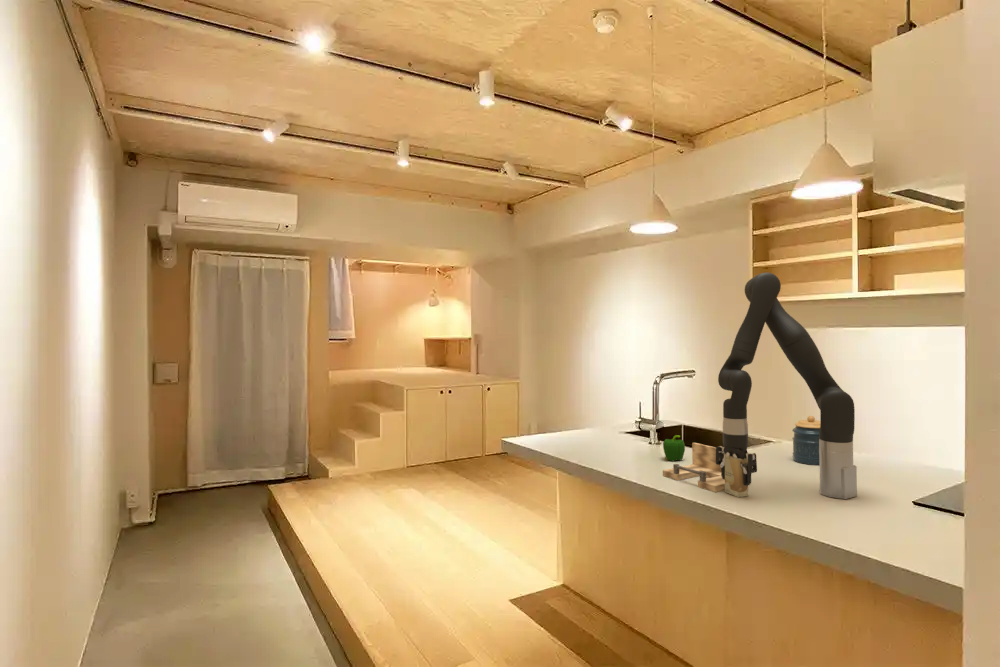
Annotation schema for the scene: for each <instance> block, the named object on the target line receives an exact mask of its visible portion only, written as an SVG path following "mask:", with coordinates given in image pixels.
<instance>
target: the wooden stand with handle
mask: <svg viewBox="0 0 1000 667" xmlns="http://www.w3.org/2000/svg"><path fill="white" fill-rule="evenodd" d="M691 447H692V448H691V450H692V451H691V454H692V464H687V465H683V466H682V465H680V464H679V463H674V464H673V466H672V467H671V468H667V469H662V476H663V477H667V478H670V479H672V480H676V481H681V480H683V481H684V480H687V479H692V478H696V477H699V480H697V487H699V488H701V489H705V490H707V491H711V492H714V493H717V492H722V491H725V480H724V479H722V476H721V467H720V465H717V464H716V447H717V446H711V445H706V444H702V443H698V442H692V444H691ZM724 457H725V453H724Z"/></svg>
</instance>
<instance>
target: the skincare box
mask: <svg viewBox="0 0 1000 667" xmlns="http://www.w3.org/2000/svg"><path fill="white" fill-rule="evenodd" d="M740 462H742V463H743V464H745V463H747V462H748V460H747V458H746V459H745V458H744V459H740V458H739V459H737V458H734V457H733V456H729V457H728V456H726V455H725V490H724V493H727V494H729V495H731V496H735V497H737V498H742V497H746V496H749V485H748V486H745V485H744V472H743V470H742V468H741V467H740ZM745 467H746V466H745Z"/></svg>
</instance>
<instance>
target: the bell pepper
mask: <svg viewBox="0 0 1000 667" xmlns="http://www.w3.org/2000/svg"><path fill="white" fill-rule="evenodd" d="M676 438H678V439H676ZM679 438H681V435H679V434H678V435H677V434H675V435H674V436H673V438H671V439H669V438H665V440H664V441H663V443H662V448H663V452H664V456H665V459H666V460H667V461H671V462H672V461H673V462H674V461H681V460H682V459H683V458H684V455H685V451H686V448H685V447H686V444H685V441H684V440H683V439H679Z"/></svg>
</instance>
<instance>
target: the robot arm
mask: <svg viewBox="0 0 1000 667" xmlns="http://www.w3.org/2000/svg"><path fill="white" fill-rule="evenodd" d="M781 288H782V285H781V280H780V279H779V277H778V276H777V275H776V274H774V273H771V272H761V273H758V274H757V275H755V276H753V277H752V278H750V279H749V280H748V281H747V282H746V283H745V285H744V294H745V295H744V296H746V299H747V300H748V301H749V306H748V309H747V312H746V314H745V316H744V318H743V321H742V323H741V325H740V327H739V329H738V331H737V333H736V335H735V338H734V341H733V345H732V348H731V351H730V354H729V355H728V357H727V358H726V360H725V362H724V363H723V365H722V367H721V369H720V370H719V372H718V377H717V378H718V379H717V383H718V385H719V387H720V388H721V389H723V390H725V391H728V392H729V391H730V392H731V395H730V398H727V399H725V400H724V401H723V403H722V404H723V406H722V410H723V412H722V414H723V415H722V416H723V418H722V445H719V446H715V447H716V464H717V465H720V467H721V476H722V479H724V480H725V457H724V453H725V455H726V456H728V457H729V456H733V457H734V458H737V459H739V458H740V459H744V458H745V459H746V458H747V460H748V462H747V463H745V464H743V463H742V462H740V467H741V468H742V470H743V472H744V485H745V486H748V487H749V486H750V485H751V484H752V474H755V473H757V472H758V464H757V462H758V461H757V454H756V453H755V452H752V453H751V452H748V447H749V424H748V423H749V422H748V409H747V408H748V407H747V405H748V402H749V398H750V395H751V391H752V384H753V381H752V378H751V375H750V374H749V372H747V371H746V370H743V368H744V367H745V366H748V365H751V364H752V363H753V362H754V359H755V356H756V352H757V348H758V345H759V342H760V338H761V336H762V334H763V330H764V326H765V324H766V326H767V327H768V330H770V332H771V334H772V335H773V337H774V340H776V342H777V343H778V346H779V347H780V348H781V350H782V352H783V354H784V355H785V357H786V358H787V360H788V362H789V363H791V364H790V365H792V366H793V368H794V369H795V370H796V371H797V373H798V374H799V375H800V376H801V378H802V379H803V380H804V381H805V383H806V385H807V387H808V388H809V390H810V392H811V394H812V396H813V399H814V400H815V402H816V404H817V407H818V408H819V411H820V412H819V413H820V415H819V416H820V420H819V421H820V430H819V462H820V465H819V492H820V494H821V495H823V496H825V497H829V498H833V499H836V498H837V499H842V500H848V499H851V498H855V497H858V483H857V482H858V476H857V475H858V474H857V472H858V471H857V469H858V468H857V465H855V464H854V433H855V411H856V410H855V402H854V400H853V397H852V396H851V395H850V394H849V393H847V391H845V390H843V389H842V388H841V386H840V385H839V384H838V383H837V382H836V380H835V378H833V376H832V375H831V373H830V372H829V370H828V369H827V367H826V364H825V362H824V359H823V356H822V354H821V352H820V350H819V348H818V346H817V345H816V343H815V341H814V339H813V338H812V337H811V335H810V334H809V332H808V330H806V328H805V327H804V326H803V325H802V324H801V323H799V321H797V320H796V319H795V318H794V317H793V316H791V315H790V314H789V313H788V312H787V311H786V309H784V307H783V306H782V304H781V303H780V301H779V298H778V295H779V294H780V292H781ZM745 466H746V467H745Z"/></svg>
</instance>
